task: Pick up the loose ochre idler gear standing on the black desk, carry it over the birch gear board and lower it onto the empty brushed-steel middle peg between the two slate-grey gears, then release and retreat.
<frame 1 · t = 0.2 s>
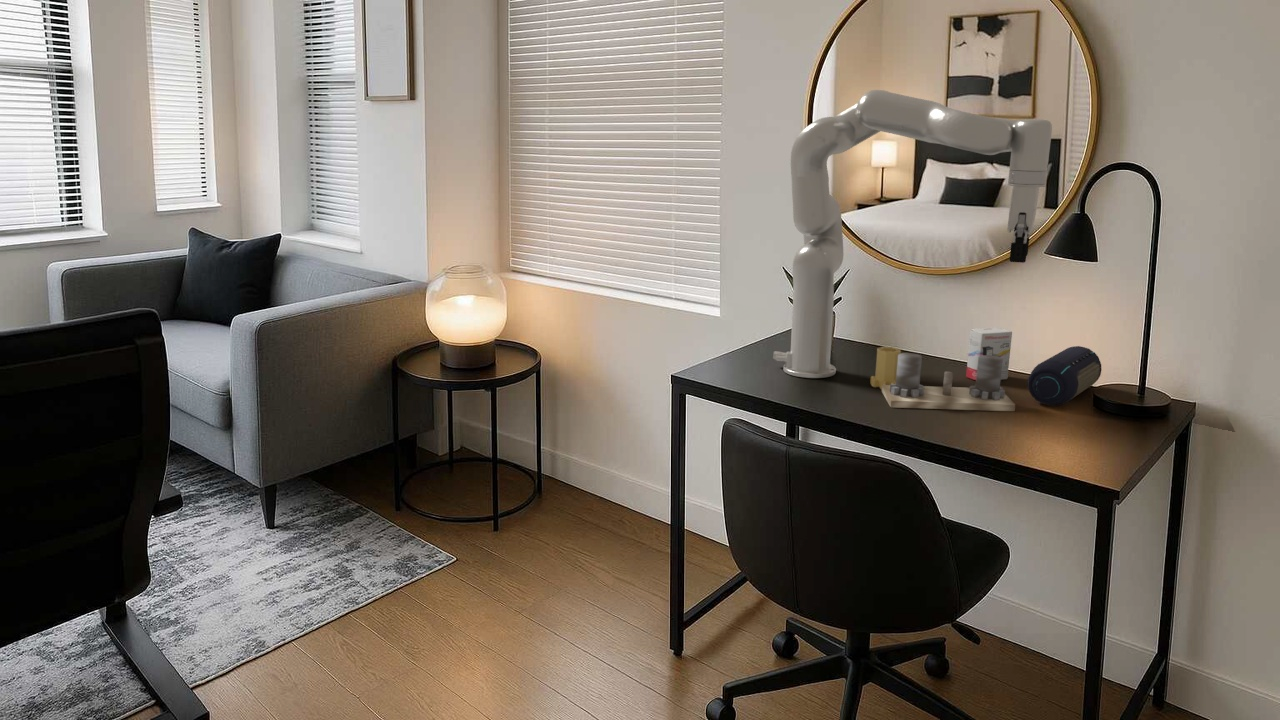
hand: (1018, 258, 211), 31 cm above the table, fingers open, 9 cm apart
board: (946, 400, 214), on the table
gear: (886, 385, 225), on the table
ink box: (986, 379, 232), on the table
portable speaker: (1063, 397, 218), on the table
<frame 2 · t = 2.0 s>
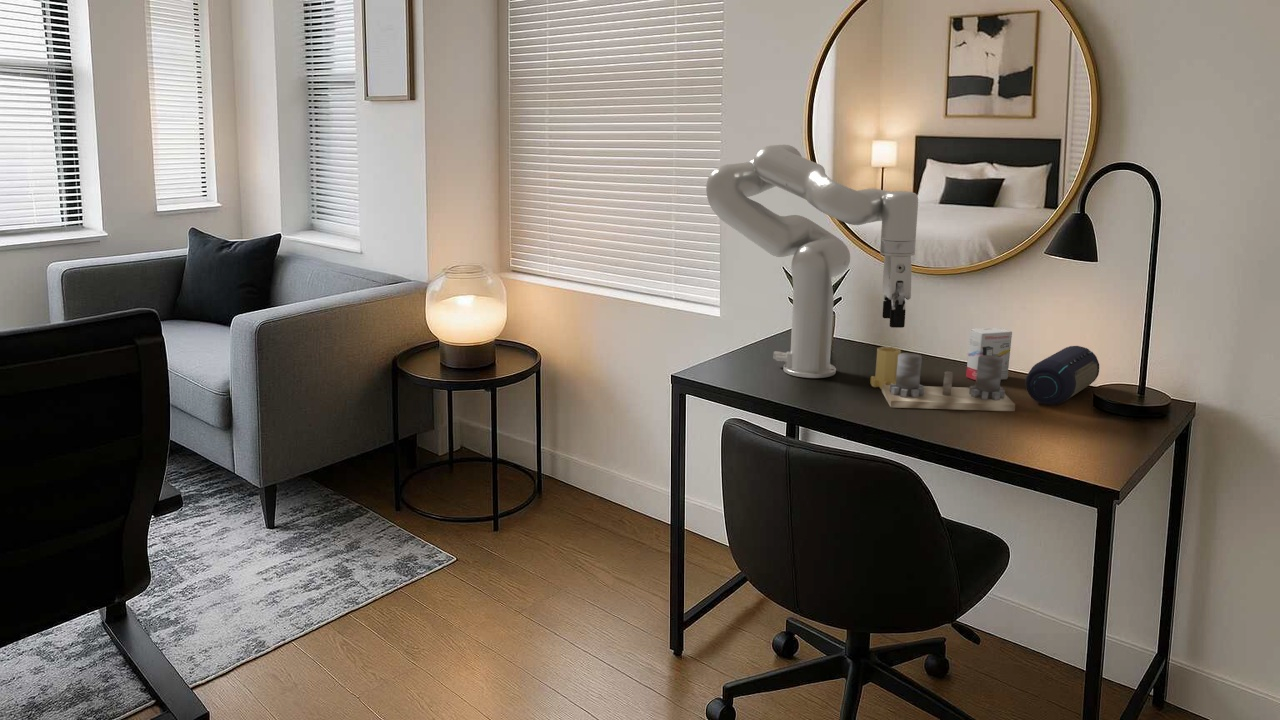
hand: (893, 322, 221), 15 cm above the table, fingers open, 9 cm apart
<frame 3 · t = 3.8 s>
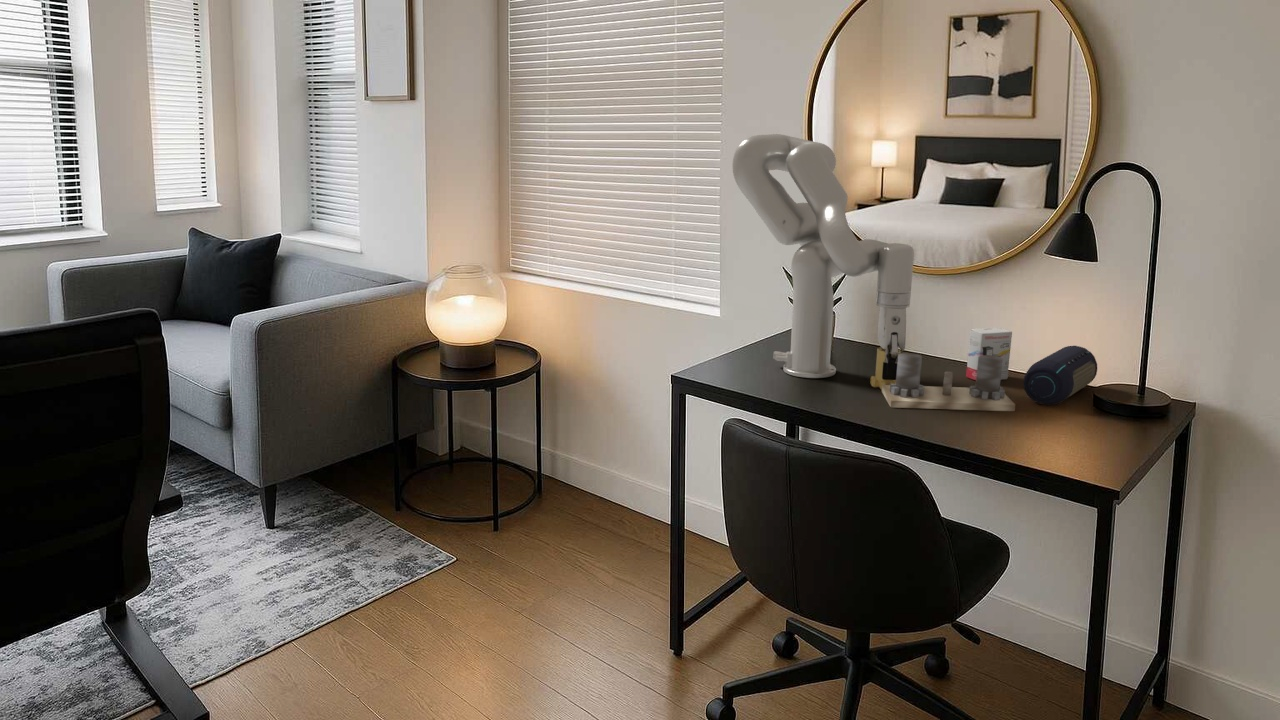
hand: (887, 375, 224), 2 cm above the table, fingers closed on gear, 5 cm apart
gear: (886, 385, 225), on the table, touching gripper
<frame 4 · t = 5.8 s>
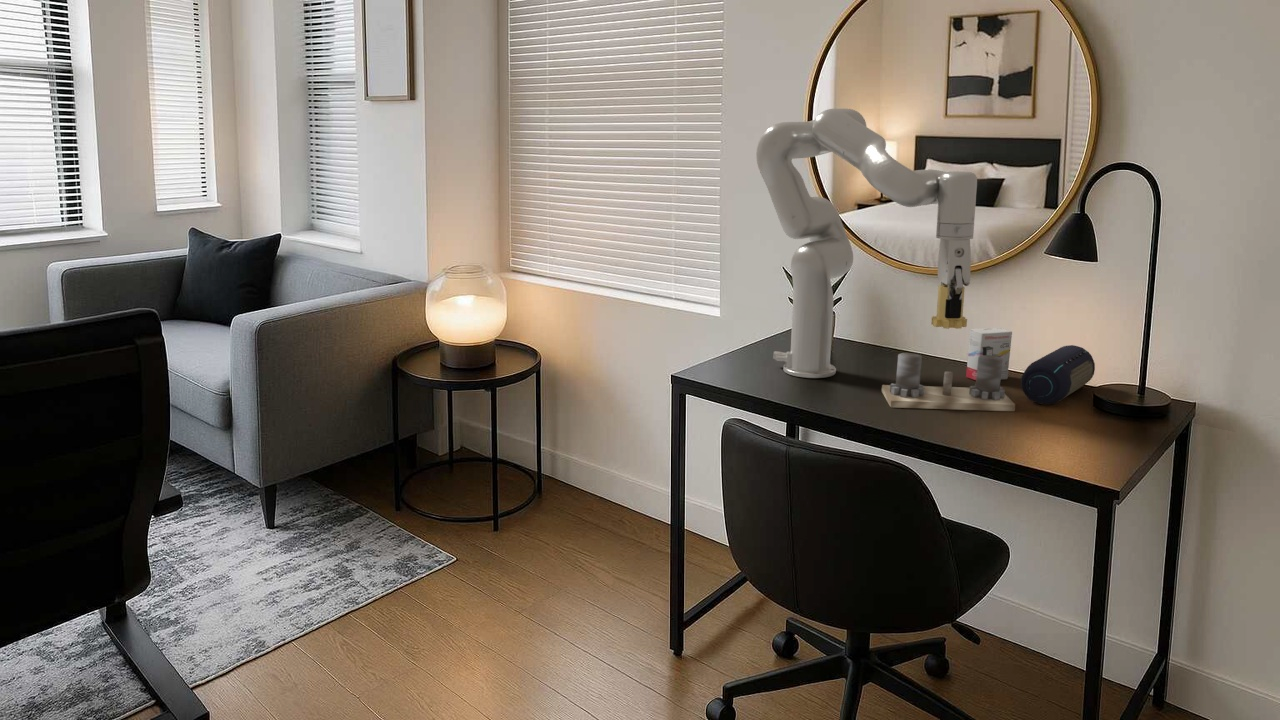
hand: (949, 314, 210), 19 cm above the table, fingers closed on gear, 5 cm apart
gear: (948, 325, 210), point 17 cm above the table, touching gripper
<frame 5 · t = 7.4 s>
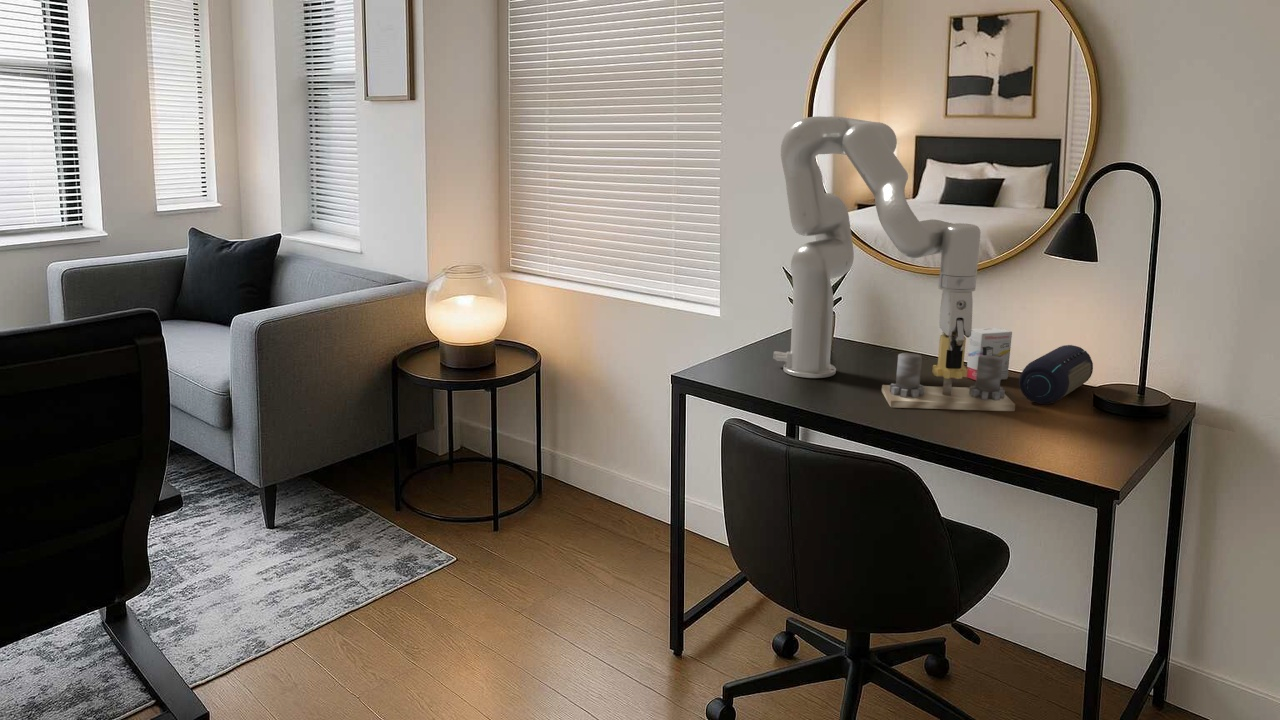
hand: (950, 363, 211), 8 cm above the table, fingers closed on gear, 5 cm apart
gear: (949, 374, 212), point 6 cm above the table, touching gripper
when the fingers open (5 cm above the table, at t = 8.3 s): gear drops 1 cm, resting on board.
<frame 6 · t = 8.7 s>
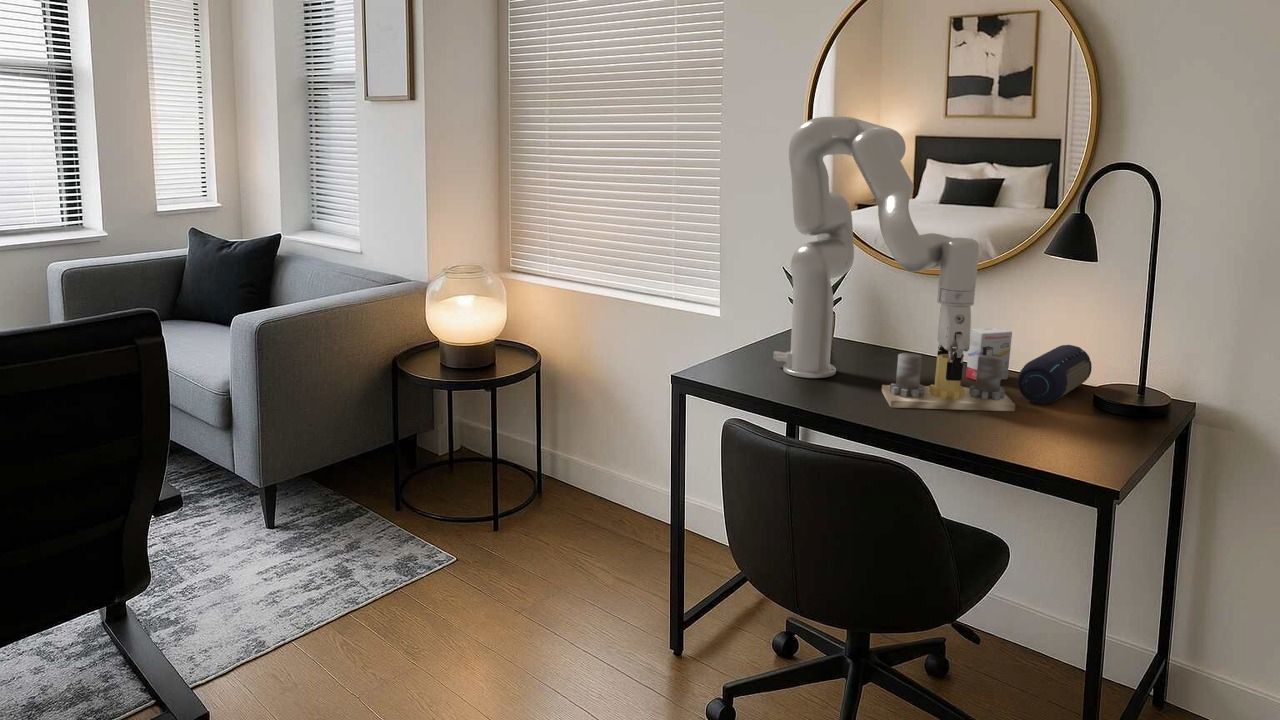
hand: (948, 374, 212), 6 cm above the table, fingers open, 8 cm apart
gear: (946, 394, 213), point 1 cm above the table, touching board
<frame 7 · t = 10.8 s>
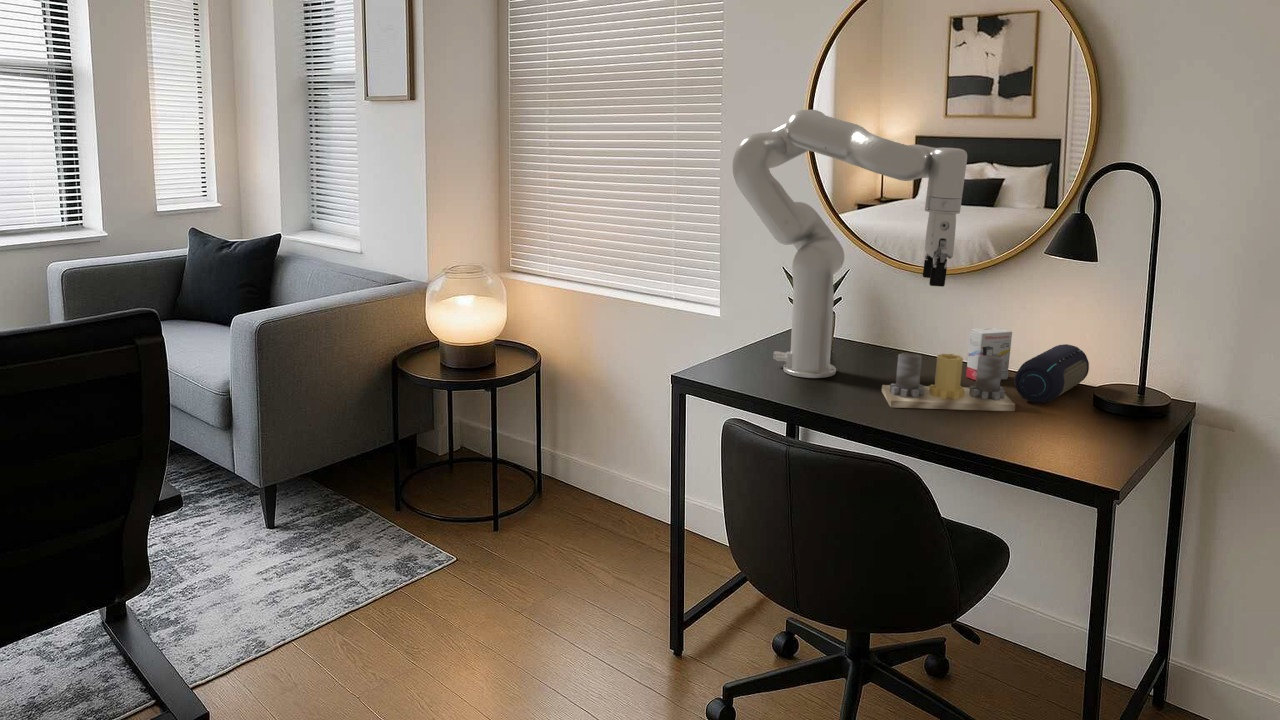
hand: (933, 281, 218), 24 cm above the table, fingers open, 9 cm apart
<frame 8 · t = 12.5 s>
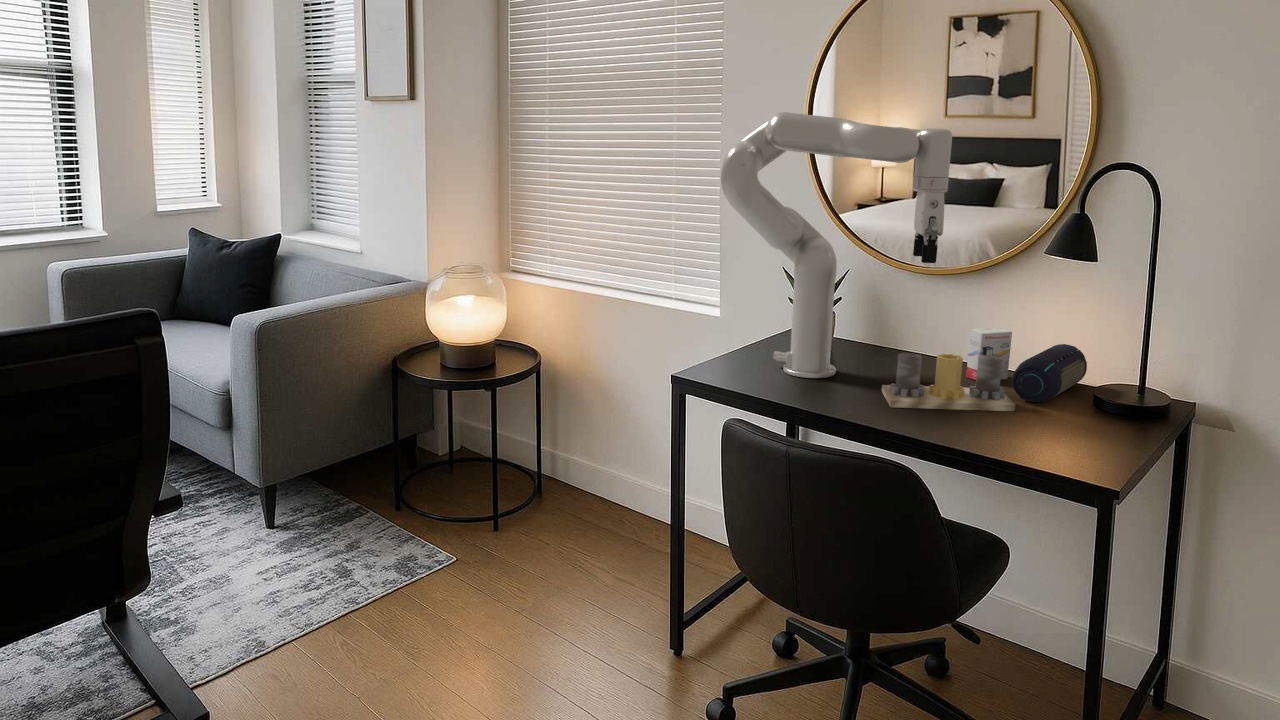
hand: (924, 259, 225), 28 cm above the table, fingers open, 9 cm apart
at the end: gear 0.1 cm off-centre on the board, point 1.5 cm above the board's base; gear tilted 0°; the gripper is holding nothing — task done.
